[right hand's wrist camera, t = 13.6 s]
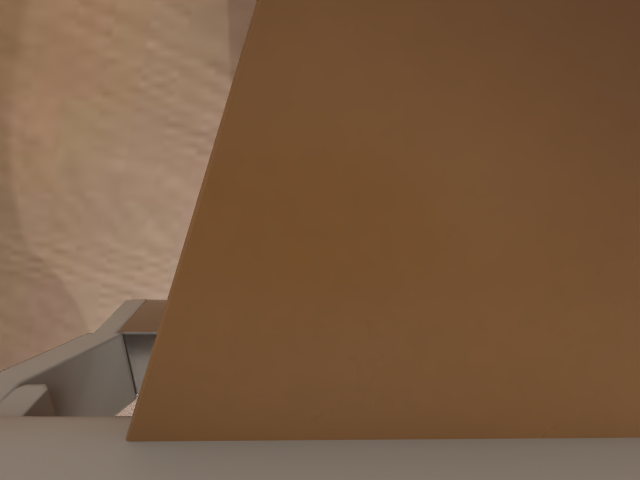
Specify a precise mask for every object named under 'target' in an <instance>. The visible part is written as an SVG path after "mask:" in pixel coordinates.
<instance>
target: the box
mask: <svg viewBox="0 0 640 480" xmlns="http://www.w3.org/2000/svg"><path fill="white" fill-rule="evenodd" d="M531 438H640V0H257V3H256V6H255V9H254V13H253V16H252V19H251V23H250V26H249V29H248V33H247V36H246V39H245V43H244V46H243V49H242V53H241V56H240V59H239V63H238V66H237V69H236V73H235V76H234V79H233V83H232V86H231V89H230V93H229V96H228V99H227V103H226V106H225V109H224V113H223V116H222V119H221V123H220V126H219V129H218V133H217V136H216V139H215V143H214V146H213V149H212V153H211V156H210V159H209V163H208V166H207V169H206V173H205V176H204V179H203V183H202V186H201V189H200V193H199V196H198V199H197V203H196V206H195V209H194V213H193V216H192V219H191V223H190V226H189V229H188V233H187V236H186V239H185V243H184V246H183V249H182V253H181V256H180V259H179V263H178V266H177V269H176V273H175V276H174V279H173V283H172V286H171V289H170V293H169V296H168V299H167V303H166V306H165V309H164V313H163V316H162V319H161V323H160V326H159V329H158V333H157V336H156V339H155V343H154V346H153V349H152V353H151V356H150V359H149V363H148V366H147V369H146V373H145V376H144V379H143V383H142V386H141V389H140V393H139V396H138V399H137V403H136V406H135V409H134V413H133V416H132V419H131V423H130V426H129V429H128V433H127V436H126V441H128V442H143V441H272V440H402V439H531Z"/></svg>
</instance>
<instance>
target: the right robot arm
mask: <svg viewBox="0 0 640 480" xmlns="http://www.w3.org/2000/svg"><path fill="white" fill-rule="evenodd" d="M166 303H167V300H147V299H141V300H126V301H125V302H124V303H123V304H122V305H121V306H120V307H119V308H118V309H117V310H116V311H115V312H114V313H113V315H112V316H111V317H110V318H109V319H108V320H107V321H106V322H105V323H104V324H103V325H102V326H101V327H100V328H99V329H98V330H97V331H96V332H95V333H88V334H85V335H83V336H81V337H78V338H76V339H74V340H72V341H69V342H67V343H65V344H63V345H60V346H58V347H56V348H53V349H51V350H49V351H47V352H44V353H42V354H40V355H37V356H35V357H33V358H31V359H28V360H26V361H24V362H22V363H19V364H17V365H15V366H12V367H10V368H8V369H6V370H3V371H1V372H0V480H640V438H531V439H402V440H272V441H143V442H128V441H126V436H127V433H128V429H129V426H130V423H131V419H132V416H115V415H116V414H118V413H119V412H120V411H121V410H123V409H124V408H125V407H126V406H128V405H129V404H130V403H131V402H133V401H134V400H135V399H136V398H137V397H138V396H139V393H140V389H141V386H142V383H143V379H144V376H145V373H146V369H147V366H148V363H149V359H150V356H151V353H152V349H153V346H154V343H155V339H156V336H157V333H158V329H159V326H160V323H161V319H162V316H163V313H164V309H165V306H166Z"/></svg>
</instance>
